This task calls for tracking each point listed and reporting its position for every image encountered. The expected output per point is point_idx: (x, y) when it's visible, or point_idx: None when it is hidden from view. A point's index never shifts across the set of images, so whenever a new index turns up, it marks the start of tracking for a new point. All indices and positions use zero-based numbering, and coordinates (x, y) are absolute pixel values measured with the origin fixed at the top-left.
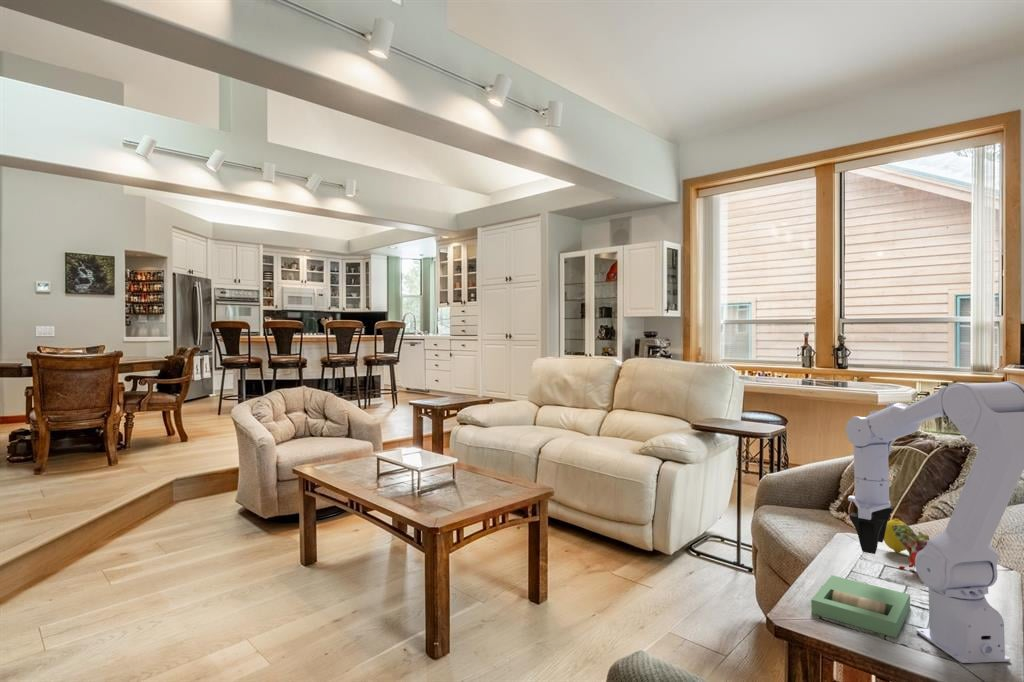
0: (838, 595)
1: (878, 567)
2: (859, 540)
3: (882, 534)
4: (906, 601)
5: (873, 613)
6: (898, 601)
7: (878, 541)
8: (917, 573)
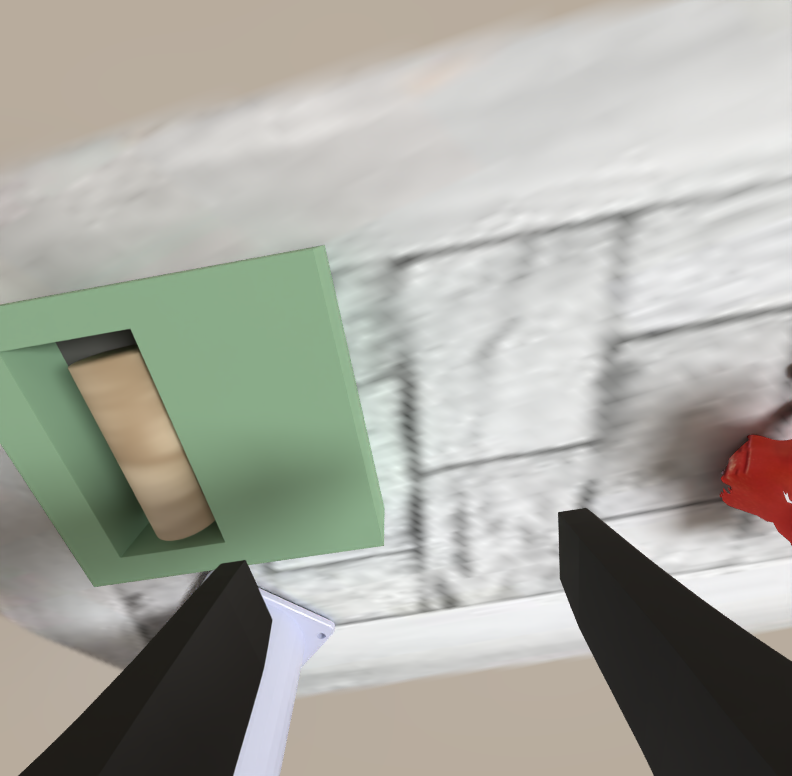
0: (81, 392)
1: (763, 293)
2: (146, 646)
3: (593, 651)
4: (306, 555)
5: (87, 526)
6: (278, 542)
7: (562, 561)
8: (753, 439)
